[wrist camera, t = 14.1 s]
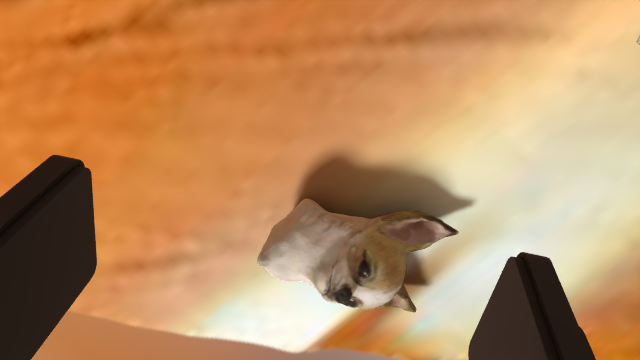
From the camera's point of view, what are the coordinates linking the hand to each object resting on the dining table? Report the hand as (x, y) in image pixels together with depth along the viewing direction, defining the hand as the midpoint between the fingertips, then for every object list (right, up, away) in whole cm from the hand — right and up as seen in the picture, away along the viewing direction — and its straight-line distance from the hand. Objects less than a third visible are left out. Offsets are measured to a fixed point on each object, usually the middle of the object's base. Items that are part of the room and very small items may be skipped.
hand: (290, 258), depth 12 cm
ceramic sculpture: (+4, -3, +34) cm, 35 cm away
